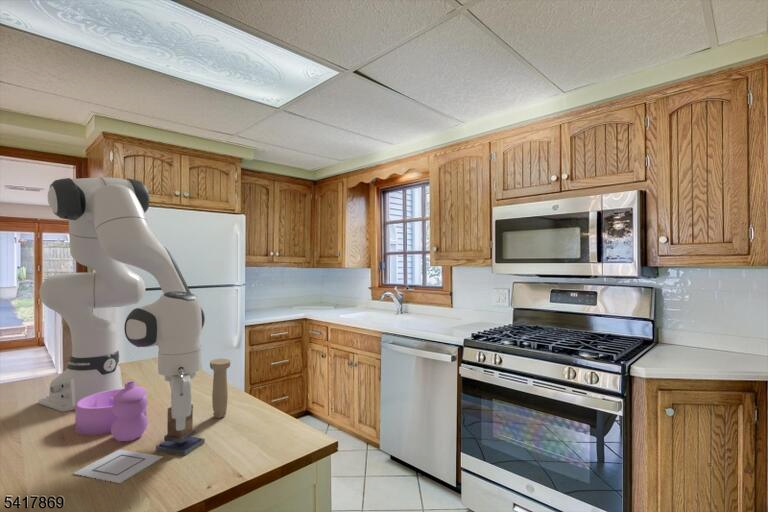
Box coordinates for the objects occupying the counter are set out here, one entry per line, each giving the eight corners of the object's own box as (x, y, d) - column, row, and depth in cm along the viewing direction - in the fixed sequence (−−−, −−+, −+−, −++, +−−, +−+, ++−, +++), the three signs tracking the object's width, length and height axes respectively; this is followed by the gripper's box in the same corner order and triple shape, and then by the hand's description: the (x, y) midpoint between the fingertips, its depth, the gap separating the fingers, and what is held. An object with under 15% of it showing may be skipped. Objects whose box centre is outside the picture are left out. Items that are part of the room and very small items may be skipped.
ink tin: (155, 450, 86) (155, 444, 86) (176, 438, 92) (176, 433, 92) (184, 455, 84) (184, 449, 84) (204, 443, 90) (204, 437, 90)
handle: (215, 422, 101) (215, 365, 101) (206, 415, 106) (206, 360, 106) (233, 417, 104) (233, 362, 105) (224, 410, 109) (224, 357, 109)
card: (72, 474, 77) (72, 472, 77) (119, 450, 86) (119, 449, 86) (119, 483, 74) (119, 482, 74) (162, 457, 83) (162, 456, 83)
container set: (68, 423, 101) (69, 373, 101) (134, 406, 113) (135, 361, 113) (95, 454, 85) (96, 394, 85) (169, 430, 97) (170, 378, 97)
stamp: (164, 440, 86) (164, 409, 86) (178, 432, 90) (179, 402, 91) (181, 442, 85) (181, 411, 85) (195, 433, 90) (195, 403, 90)
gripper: (198, 372, 81) (198, 438, 80) (193, 352, 98) (193, 406, 98) (164, 376, 77) (163, 445, 77) (164, 355, 95) (164, 411, 95)
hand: (180, 423), depth 88 cm, fingers closed on stamp, 5 cm apart
